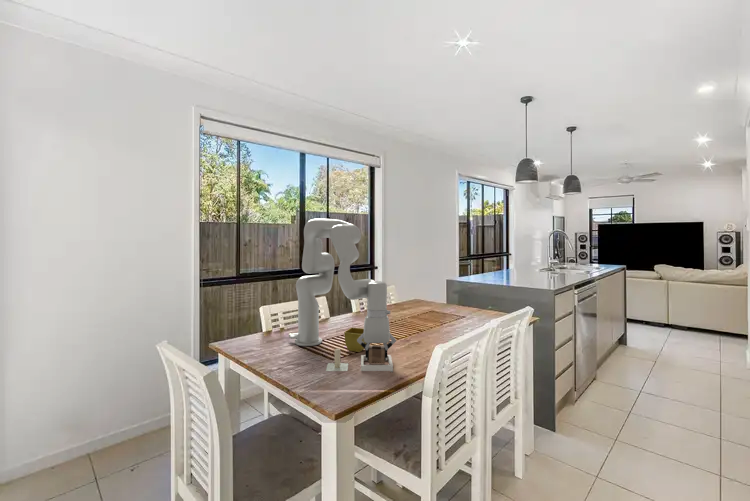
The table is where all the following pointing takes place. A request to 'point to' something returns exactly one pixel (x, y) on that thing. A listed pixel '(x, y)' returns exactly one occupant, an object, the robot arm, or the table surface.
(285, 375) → the table surface
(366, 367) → the light grey square frame
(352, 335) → the flower pot
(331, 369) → the peg stand
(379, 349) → the napkin ring
